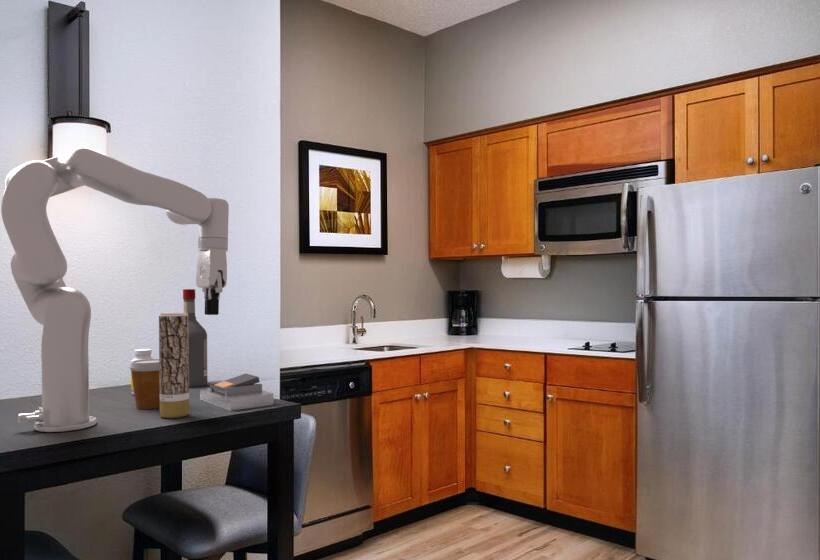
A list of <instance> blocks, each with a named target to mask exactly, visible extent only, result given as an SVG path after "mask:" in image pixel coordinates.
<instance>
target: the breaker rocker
mask: <svg viewBox="0 0 820 560" xmlns="http://www.w3.org/2000/svg"><path fill="white" fill-rule="evenodd" d="M219 382H220V383H217V384H214V385H212V388H213V391H216V392H219V393H222V394H225V388H227V387H235V386H244V385H253V384H259V383H260V377H259V376H257V375H253V374H248V373H243V374H241V375H237V376H235V377H232V378H229V379H226V380H223V381H219Z"/></svg>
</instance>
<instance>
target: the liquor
mask: <svg viewBox="0 0 820 560" xmlns="http://www.w3.org/2000/svg"><path fill="white" fill-rule="evenodd" d="M182 299H183V313H187V314H188V320H189V389H190V388H197V387H204V386H206V385H207V384H208V333H207V331H206V329H205V328H204V327H203V325H202V324H201V323H200V322H199V321H198V320H197V317H196V288H195V289H194V288H192V289H191V288H189V289H183V288H182Z"/></svg>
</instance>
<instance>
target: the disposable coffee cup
mask: <svg viewBox="0 0 820 560" xmlns="http://www.w3.org/2000/svg"><path fill="white" fill-rule="evenodd" d="M131 361H132V360H131ZM131 361H130V365H129V370H130V374H131V373H132V381H133V387H134V394H135V395H134V401H135V407H136V409H138V410H151V408H153V409H157V408H158V407H159V408H160V384H159V358H153V359H144V360H135V361H132V362H131Z"/></svg>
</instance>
